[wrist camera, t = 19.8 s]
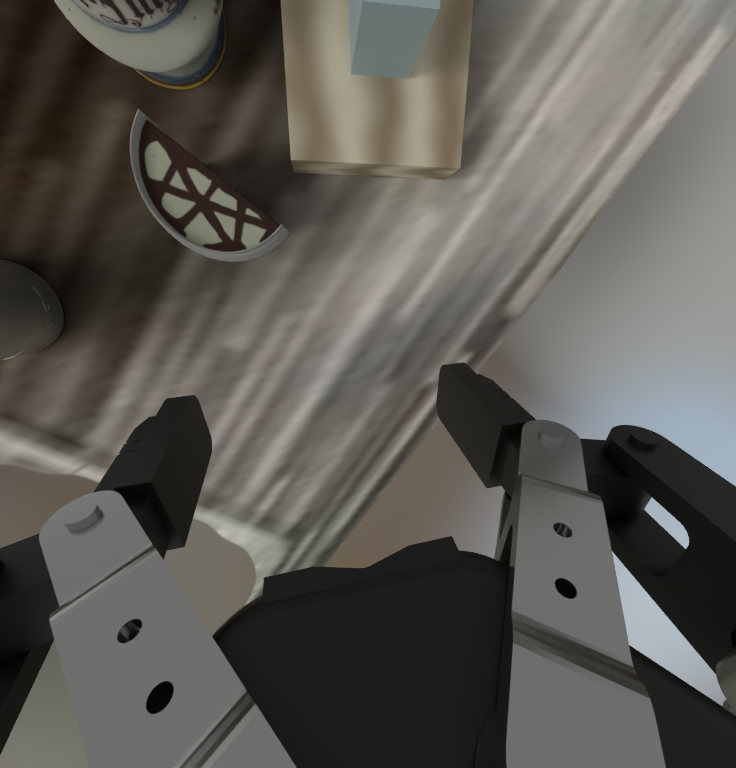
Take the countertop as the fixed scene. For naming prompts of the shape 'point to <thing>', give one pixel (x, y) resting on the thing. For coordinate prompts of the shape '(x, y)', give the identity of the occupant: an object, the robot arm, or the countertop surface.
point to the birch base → (374, 97)
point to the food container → (197, 199)
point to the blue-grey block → (388, 35)
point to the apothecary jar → (155, 36)
